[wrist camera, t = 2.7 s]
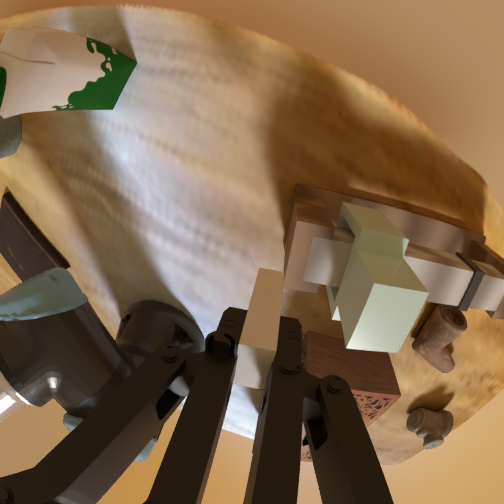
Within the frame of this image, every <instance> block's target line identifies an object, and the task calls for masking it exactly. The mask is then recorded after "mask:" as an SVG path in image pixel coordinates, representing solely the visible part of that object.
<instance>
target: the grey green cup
mask: <svg viewBox="0 0 504 504" xmlns="http://www.w3.org/2000/svg"><path fill="white" fill-rule="evenodd" d="M21 133H22V126H21V120H20V117H19V115H15V116H11V117H8V118H5V119H4V118H3V117H2V116H0V159H1V158H3V157H6V156H10V155H12V154H14V153H15V152H16V150H17V149H18V147H19V144H20V140H21Z"/></svg>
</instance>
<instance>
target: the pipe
mask: <svg viewBox="0 0 504 504" xmlns="http://www.w3.org/2000/svg"><path fill="white" fill-rule="evenodd" d="M466 329H467V322H466V318H465V316H464V315H463V313H462V312H461V310H458V309H457V308H456V306H454V305H447V304H440V303H439V304H438V305H437V307H436V308H435V310H434V311H433V313H432V314H431V316H430V317H429V319H428V320H427V322H426V323H425V325H424V326H423V328H422V330H421V331H420V333H419V335H418V336H417V338H416V339H415V340H414V342H413V343H412V348H413V350H415V351H416V352H418V353H419V354H420V355H422V356H423V357H424V358H425V360H427V361H428V362H429V363H430V364H431V365H433V366H434V367H435V368H437V369H438V370H440V371H441V372H443V373H448V372H450V371H452V370H453V368H454V367H455V363H454V361H453V358H452V356H451V354H450V352H449V350H448V348H447V347H446V346H447V345H448V344H449V343H451V342H452V341H454V340H455V339H456V338H457V337H458V336H459V334H461V332H464V331H465V330H466Z"/></svg>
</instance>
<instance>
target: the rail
mask: <svg viewBox="0 0 504 504" xmlns="http://www.w3.org/2000/svg"><path fill="white" fill-rule="evenodd" d="M342 202H346V203H350V204H354V205H359V206H363V207H367V208H371V209H375V210H379V211H380V212H381V213H382V214H383V215H384V216H386V217H387V218H388V219H389V220H390V221H391V222H392V223H393V224H394V225H395V226H396V227H397V228H398V229H399V230H400V231H401V232H402V233H403V234H404V235H405V236H406V237H407V238H408V239H409V242H408V245H407V248H406V251H405V254H404V257H403V258H404V260H405V261H406V262H407V264H408V265H409V266H410V267H411V269H412V270H413V271H414V273H415V274H416V275H417V277H418V278H419V279H420V281H421V282H422V284H423V285H424V286H425V288H426V289H427V291H428V292H429V294H428V296H427V298H426V300H425V301H427V302H433V303H440V304H447V305H454V306H456V308H457V309H458V310H461V311H467V309H468V308H475V309H482V310H485V311H486V312H487V313H488V314H489V316H490V317H491V318H494V319H504V259H503V258H502V257H501V256H499V255H498V254H497V253H496V252H494V251H493V250H492V249H490V248H489V247H488V246H487V245H485V244H484V243H485V240H486V237H485V236H484V235H481V234H479V233H476V232H473V231H470V230H468V229H465V228H462V227H459V226H456V225H453V224H450V223H447V222H444V221H441V220H438V219H435V218H432V217H428V216H425V215H422V214H419V213H415V212H412V211H408V210H405V209H401V208H398V207H394V206H391V205H387V204H383V203H379V202H376V201H372V200H368V199H364V198H360V197H355V196H351V195H347V194H343V193H338V192H334V191H329V190H325V189H320V188H315V187H310V186H305V185H300V184H297V185H296V191H295V196H294V201H293V206H292V212H291V217H290V222H289V227H288V232H287V237H286V242H285V247H284V250H285V260H284V281H283V288H287V289H293V290H298V291H304V292H310V293H315V294H317V291H318V287H319V284H323V285H329V286H335V287H340V285H341V282H342V279H343V276H344V272H345V269H346V266H347V263H348V260H349V257H350V253H351V250H352V247H353V243H354V240H355V235H354V233H353V232H352V230H351V229H347V228H342V227H337V222H338V218H339V214H340V210H341V206H342Z"/></svg>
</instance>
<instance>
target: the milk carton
mask: <svg viewBox="0 0 504 504" xmlns="http://www.w3.org/2000/svg"><path fill="white" fill-rule="evenodd" d="M136 65H137V63H136V62H135V61H133V60H132V59H130V58H128V57H127V56H125V55H124V54H122V53H121V52H119V51H117V50H116V49H114V48H113V47H111V46H109V45H107V44H104V43H102V42H100V41H97V40H94V39H91V38H87V37H84V36H81V35H77V34H74V33H70V32H66V31H62V30H55V29H48V28H8V29H7V31H6V33H5V35H4V37H3V40H2V42H1V44H0V116H2V117H3V118H4V119H5V118H8V117H11V116H15V115H19V114H22V113H28V112H40V111H57V110H113V108H114V106H115V104H116V102H117V100H118V98H119V96H120V94H121V92H122V90H123V88H124V86H125V84H126V82H127V81H128V79H129V77H130V75H131V73H132V71H133V70H134V68H135V66H136Z"/></svg>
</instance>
